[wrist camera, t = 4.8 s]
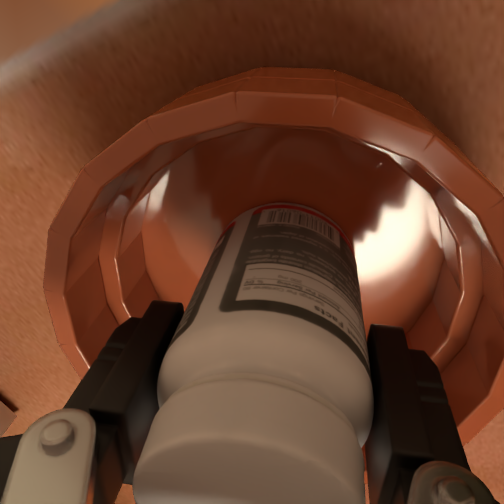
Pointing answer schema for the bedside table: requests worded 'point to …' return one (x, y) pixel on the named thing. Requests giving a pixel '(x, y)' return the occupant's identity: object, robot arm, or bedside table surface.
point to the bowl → (298, 192)
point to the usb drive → (5, 418)
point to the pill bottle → (265, 372)
